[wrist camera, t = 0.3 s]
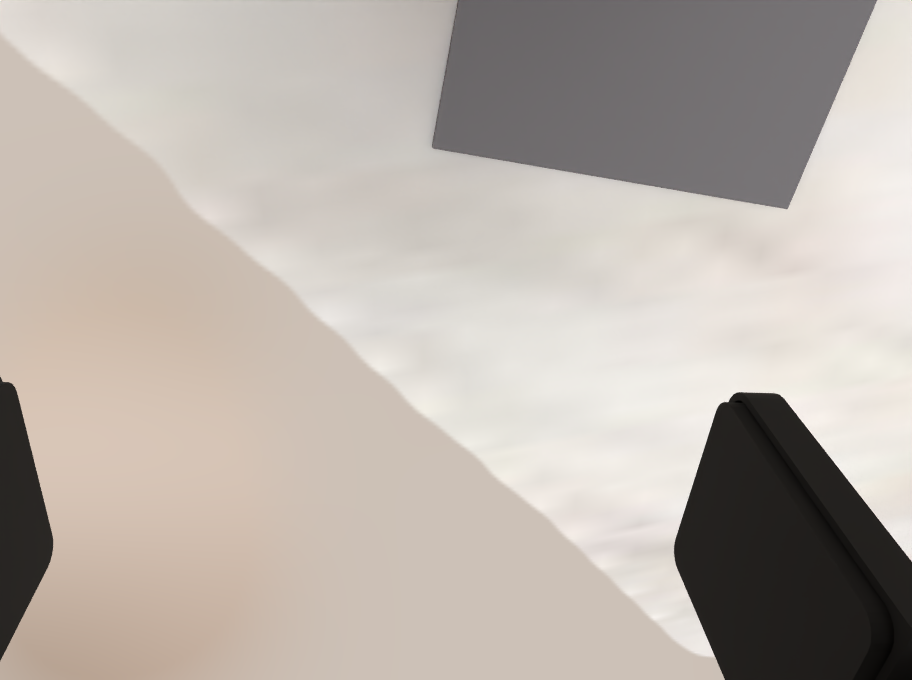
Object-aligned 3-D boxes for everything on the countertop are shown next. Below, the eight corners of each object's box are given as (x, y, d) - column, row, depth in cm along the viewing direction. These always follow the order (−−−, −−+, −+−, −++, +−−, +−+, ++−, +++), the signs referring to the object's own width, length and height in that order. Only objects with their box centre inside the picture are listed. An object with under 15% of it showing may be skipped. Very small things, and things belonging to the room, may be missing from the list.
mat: (500, -233, 31) (501, -234, 31) (924, -123, 35) (929, -123, 34) (432, 146, 39) (432, 148, 39) (784, 206, 42) (787, 209, 42)
